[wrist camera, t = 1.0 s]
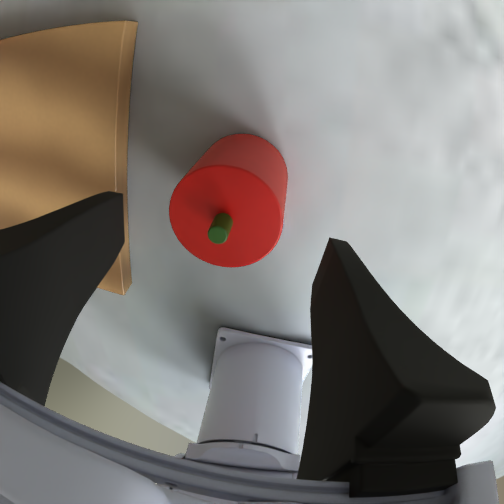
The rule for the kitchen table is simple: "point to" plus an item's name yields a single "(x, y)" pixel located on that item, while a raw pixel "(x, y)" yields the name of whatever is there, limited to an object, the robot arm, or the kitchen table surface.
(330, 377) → the robot arm
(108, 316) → the kitchen table surface
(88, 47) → the cutting board
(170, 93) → the kitchen table surface
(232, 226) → the pepper
